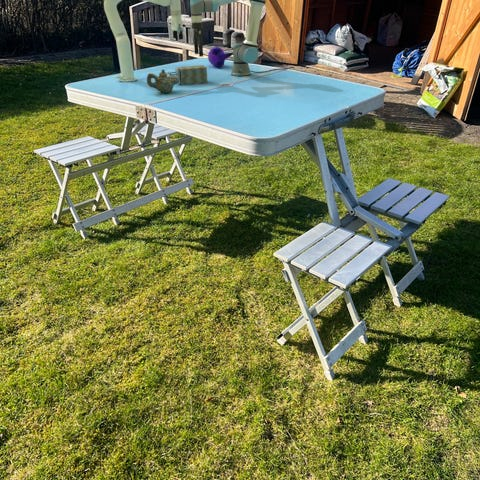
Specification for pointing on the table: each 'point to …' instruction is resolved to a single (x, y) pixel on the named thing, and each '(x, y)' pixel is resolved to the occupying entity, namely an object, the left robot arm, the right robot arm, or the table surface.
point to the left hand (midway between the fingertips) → (178, 38)
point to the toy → (218, 56)
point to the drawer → (176, 74)
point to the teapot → (162, 81)
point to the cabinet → (193, 75)
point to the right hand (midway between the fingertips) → (198, 55)
